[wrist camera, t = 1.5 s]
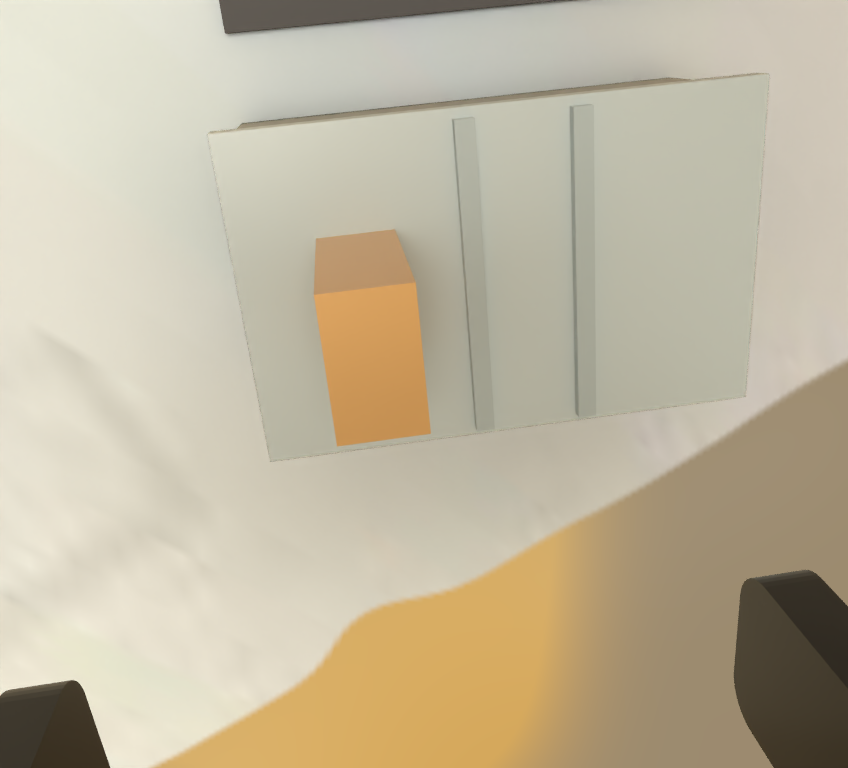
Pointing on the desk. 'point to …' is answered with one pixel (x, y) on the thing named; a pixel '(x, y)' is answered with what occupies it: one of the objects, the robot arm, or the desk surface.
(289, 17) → the mat
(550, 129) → the lid
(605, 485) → the desk surface
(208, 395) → the desk surface
